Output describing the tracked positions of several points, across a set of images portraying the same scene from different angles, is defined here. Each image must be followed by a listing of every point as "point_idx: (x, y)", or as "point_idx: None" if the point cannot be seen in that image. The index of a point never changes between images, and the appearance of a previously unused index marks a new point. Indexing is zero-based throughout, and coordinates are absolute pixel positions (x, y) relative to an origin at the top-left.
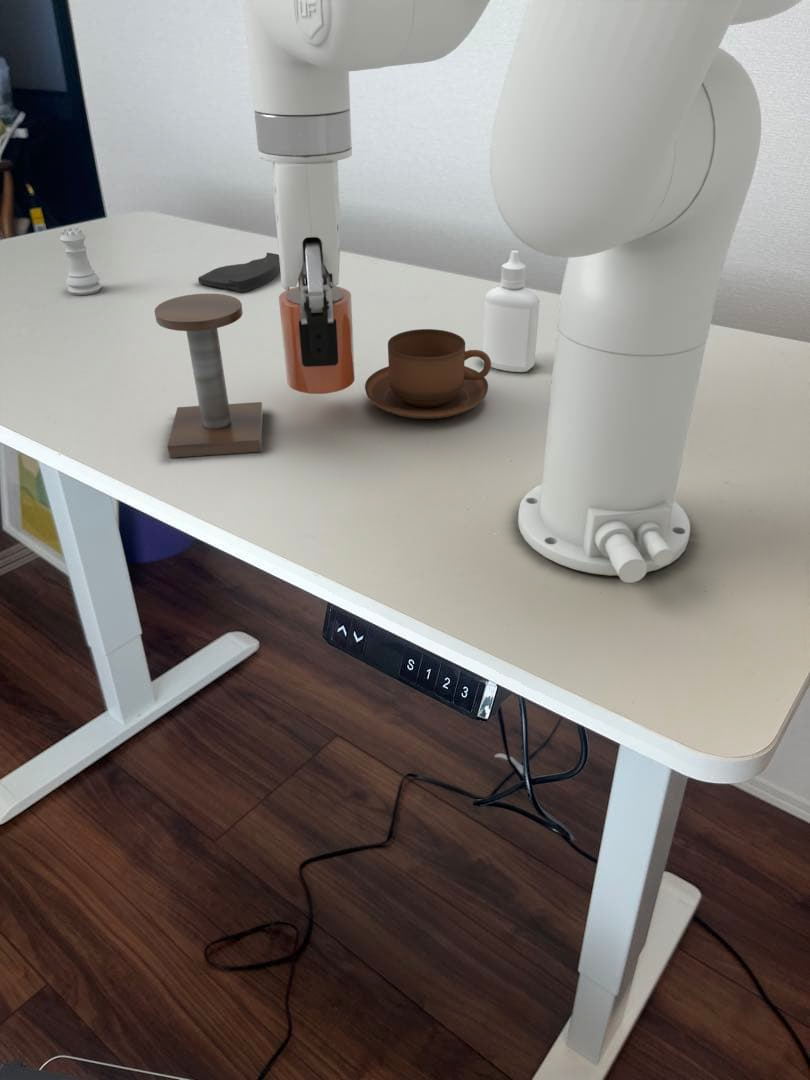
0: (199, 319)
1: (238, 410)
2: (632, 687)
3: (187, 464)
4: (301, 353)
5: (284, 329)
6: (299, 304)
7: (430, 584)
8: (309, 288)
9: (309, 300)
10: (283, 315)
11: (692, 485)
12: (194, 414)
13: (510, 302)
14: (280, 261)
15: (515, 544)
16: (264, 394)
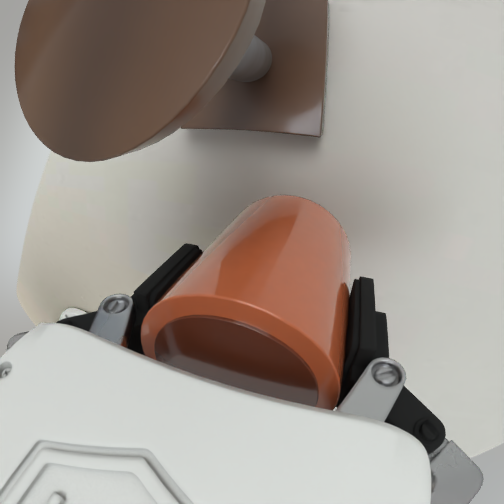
0: (20, 59)
1: (290, 94)
2: (25, 291)
3: None
4: (174, 254)
5: (220, 250)
6: (160, 330)
7: (42, 245)
8: (8, 349)
9: (24, 333)
10: (199, 271)
11: None
12: (290, 23)
13: None
14: (7, 376)
15: (76, 302)
16: (400, 150)
